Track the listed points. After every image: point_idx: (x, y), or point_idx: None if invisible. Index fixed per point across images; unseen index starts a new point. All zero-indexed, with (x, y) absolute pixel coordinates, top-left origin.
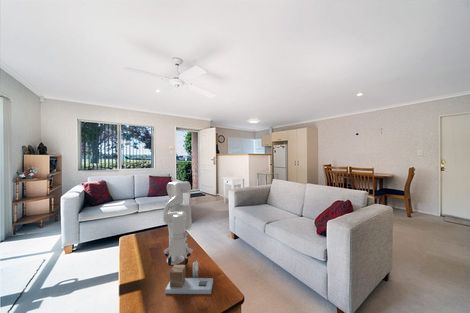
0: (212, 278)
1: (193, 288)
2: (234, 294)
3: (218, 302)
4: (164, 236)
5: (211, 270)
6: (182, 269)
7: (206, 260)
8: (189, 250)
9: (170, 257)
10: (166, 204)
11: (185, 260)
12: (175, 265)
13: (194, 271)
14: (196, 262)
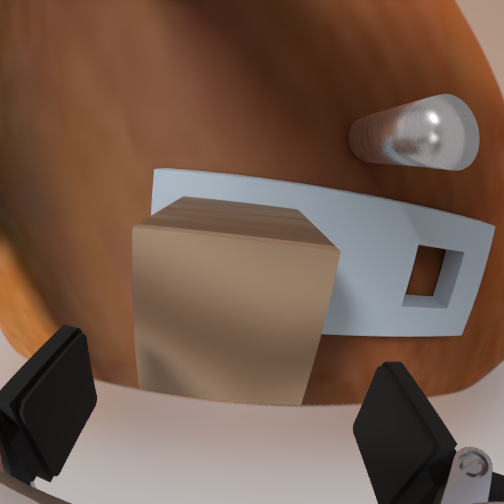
0: (492, 229)
1: (369, 327)
2: None
3: (458, 367)
4: None
5: (468, 75)
6: (302, 368)
7: None
8: None
9: (28, 447)
10: None
11: (384, 491)
12: (161, 254)
13: (397, 162)
14: (464, 137)
